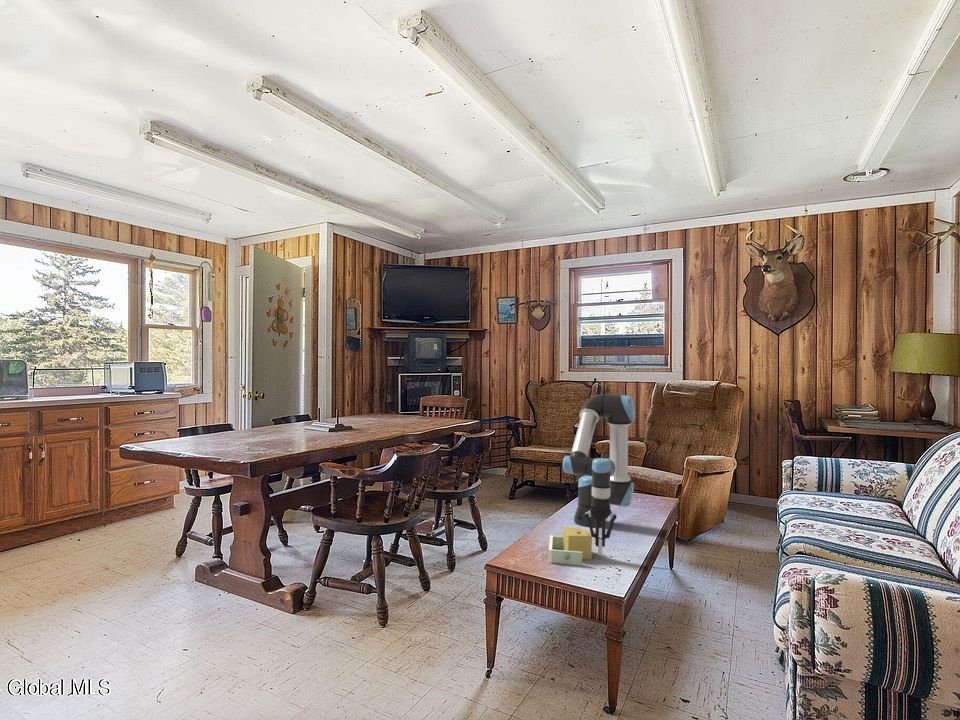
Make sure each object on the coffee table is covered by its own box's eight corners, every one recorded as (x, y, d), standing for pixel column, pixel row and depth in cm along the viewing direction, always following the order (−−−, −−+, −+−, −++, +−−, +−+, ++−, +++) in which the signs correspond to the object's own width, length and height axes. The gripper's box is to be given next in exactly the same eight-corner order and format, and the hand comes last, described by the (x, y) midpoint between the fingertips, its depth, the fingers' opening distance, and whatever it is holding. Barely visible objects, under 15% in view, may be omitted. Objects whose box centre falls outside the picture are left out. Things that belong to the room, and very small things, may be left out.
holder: (550, 546, 222) (550, 534, 222) (580, 548, 220) (581, 537, 220) (548, 563, 203) (548, 550, 203) (582, 566, 201) (582, 553, 201)
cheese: (586, 550, 218) (587, 527, 218) (592, 560, 207) (593, 535, 207) (562, 550, 218) (562, 526, 218) (566, 560, 207) (567, 535, 207)
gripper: (585, 498, 208) (584, 556, 207) (618, 500, 205) (617, 558, 205) (584, 493, 215) (583, 549, 215) (616, 495, 213) (615, 552, 213)
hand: (599, 554), depth 210 cm, fingers closed
